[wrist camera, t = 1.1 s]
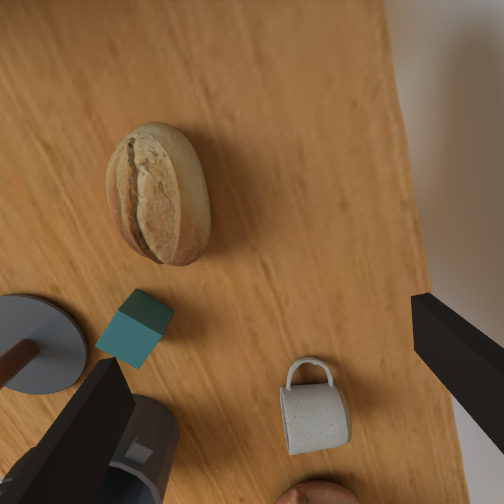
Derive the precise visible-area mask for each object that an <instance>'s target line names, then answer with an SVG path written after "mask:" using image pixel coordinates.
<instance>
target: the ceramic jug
mask: <svg viewBox="0 0 504 504" xmlns="http://www.w3.org/2000/svg"><path fill="white" fill-rule="evenodd" d="M275 504H360V502H359V501H358V499H357V498H356V497H355V496H354V494H353V493H352V492H350V491H349V490H348V489H347V488H345V487H343V486H341V485H339V484H337V483H334V482H329V481H322V480H312V481H305V482H301V483H298V484H296V485H294V486H292V487H290V488H289V489H287V490H286V491H285V492H284V493H283V494H282V495H281V496H280V497H279V498H278V499H277V501H276V502H275Z"/></svg>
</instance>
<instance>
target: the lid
mask: <svg viewBox="0 0 504 504" xmlns="http://www.w3.org/2000/svg"><path fill="white" fill-rule="evenodd" d="M87 359H88V348H87V343H86V340H85V337H84V335H83V333H82V331H81V329H80V328H79V326H78V325H77V323H76V322H75V321H74V320H73V319H72V318H71V317H70V316H69V315H68V314H67V313H66V312H65V311H63V310H62V309H61V308H59V307H58V306H56V305H54V304H52V303H50V302H48V301H46V300H43V299H41V298H38V297H34V296H30V295H22V294H11V295H4V296H0V390H1V389H2V388H3V387H4V386H5V387H7V388H10V389H12V390H15V391H18V392H22V393H27V394H39V395H42V394H51V393H55V392H58V391H61V390H63V389H65V388H67V387H69V386H70V385H72V384H73V383H74V382H75V381H76V380H77V379H78V378H79V377H80V375H81V374H82V373H83V371H84V369H85V367H86V364H87Z"/></svg>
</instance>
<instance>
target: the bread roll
mask: <svg viewBox="0 0 504 504" xmlns="http://www.w3.org/2000/svg"><path fill="white" fill-rule="evenodd" d="M106 197H107V201H108V206H109V210H110V213H111V216H112V220H113V222H114V224H115V226H116V229H117V230H118V232H119V233H120V235H121V236H122V238H123V239H124V240H125V241H126V243H127V244H128V245H129V247H130V248H132V249H133V250H134V251H136V252H137V253H139V254H140V255H142V256H145V257H147V258H149V259H151V260H152V261H154V262H156V263H157V264H163V263H164V264H167V265H172V266H185V265H189V264H191V263H193V262H195V261H196V260H197V259H198V258H199V257H200V256H201V255H202V254H203V252H204V251H205V249H206V247H207V245H208V242H209V238H210V232H211V211H210V202H209V196H208V190H207V186H206V181H205V177H204V173H203V169H202V166H201V163H200V160H199V158H198V155H197V153H196V150H195V149H194V147H193V145H192V144H191V142H190V141H189V140H188V139H187V138H186V136H185V135H184V134H183V133H181V132H180V131H178V130H177V129H176V128H174V127H172V126H170V125H168V124H165V123H160V122H149V123H146V124H144V125H141V126H139V127H137V128H136V129H134V130H132V131H131V132H130V133H129V134H128V135H127V136H126V137H125V138H124V139H123V140H122V142H121V143H120V144H119V145H118V147H117V148H116V150H115V151H114V153H113V155H112V157H111V159H110V162H109V165H108V168H107V173H106Z"/></svg>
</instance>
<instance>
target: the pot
mask: <svg viewBox="0 0 504 504" xmlns="http://www.w3.org/2000/svg"><path fill="white" fill-rule="evenodd" d="M132 396H133V398H134V400H135V402H136V406H135V409H134V411H133V413H132V415H131V417H130V420H129V422H128V424H127V426H126V429H125V431H124V433H123V435H122V437H121V440H120V442H119V444H118V446H117V449H116V451H115V453H114V455H113V457H112V460H111V462H110V464H109V466H108V469H107V471H106V473H105V475H104V477H103V480H102V482H101V484H100V486H99V488H98V491H97V493H96V495H95V497H94V500H93V502H92V504H163V501H164V497H165V492H166V488H167V484H168V480H169V476H170V472H171V468H172V464H173V460H174V456H175V452H176V448H177V443H178V439H179V428H178V424H177V422H176V419H175V418H174V416H173V415H172V413H171V412H170V411H169V410H168V409H167V408H166V407H164V406H163V405H162V404H160V403H159V402H157V401H155V400H153V399H151V398H148V397H145V396H140V395H134V394H132Z"/></svg>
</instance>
